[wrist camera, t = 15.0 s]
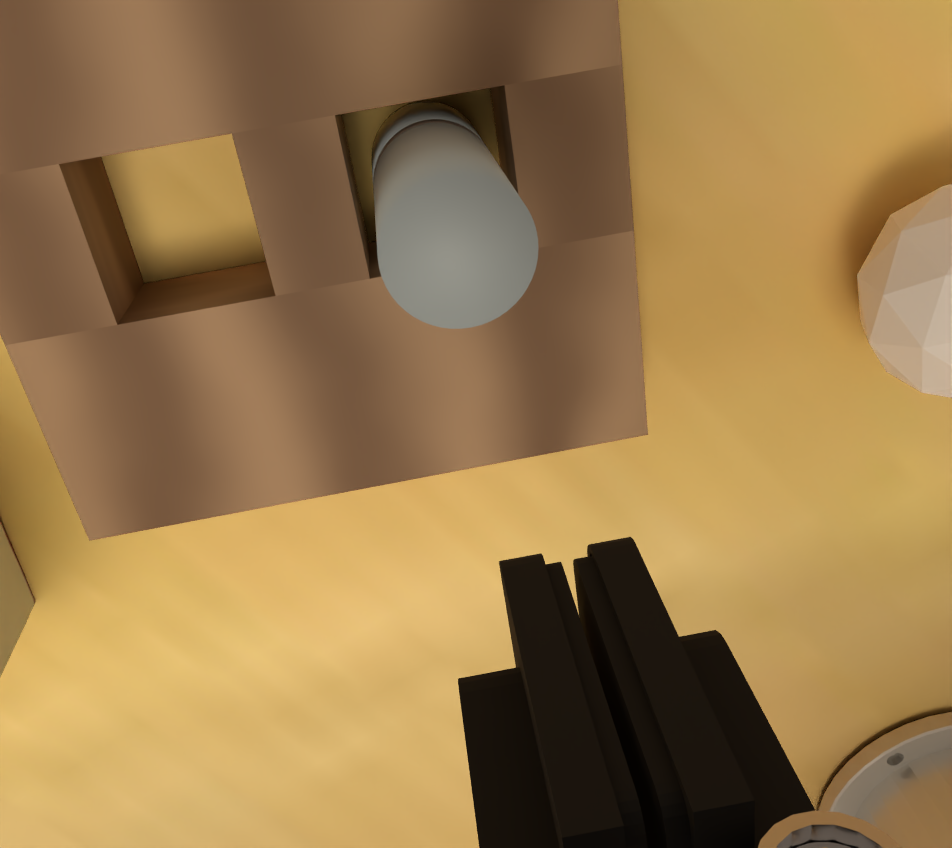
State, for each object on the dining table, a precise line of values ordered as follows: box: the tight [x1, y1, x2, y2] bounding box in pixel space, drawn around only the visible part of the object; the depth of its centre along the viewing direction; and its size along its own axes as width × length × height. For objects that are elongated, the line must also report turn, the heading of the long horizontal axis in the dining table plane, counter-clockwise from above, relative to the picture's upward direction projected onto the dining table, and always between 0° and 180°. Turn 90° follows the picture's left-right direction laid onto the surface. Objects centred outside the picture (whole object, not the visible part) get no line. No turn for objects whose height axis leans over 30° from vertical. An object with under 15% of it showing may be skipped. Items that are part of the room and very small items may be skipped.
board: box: [0, 0, 648, 541], centre depth 29 cm, size 20×20×4 cm
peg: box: [372, 101, 539, 329], centre depth 26 cm, size 4×4×11 cm
